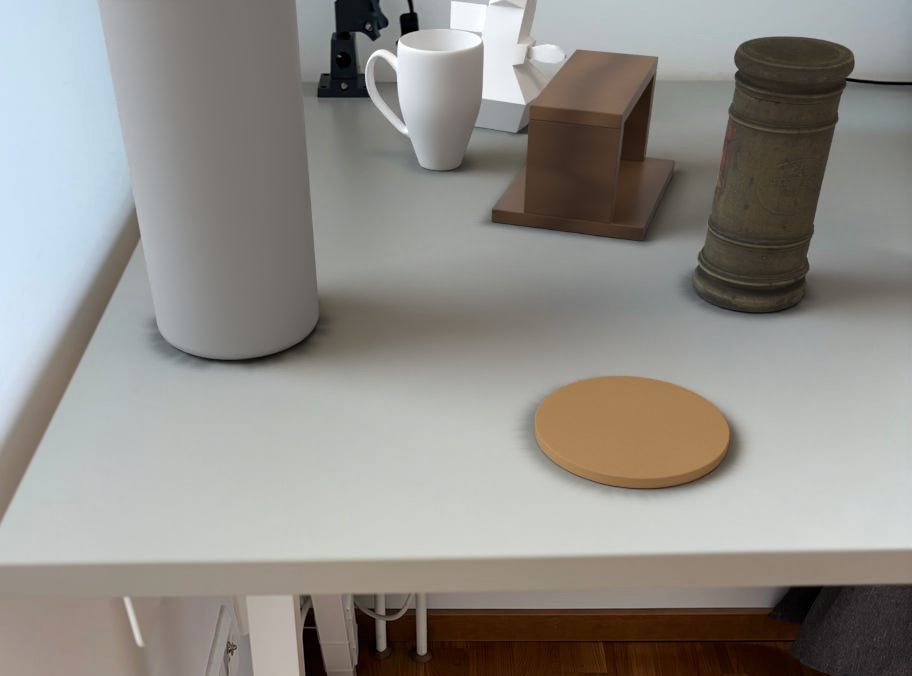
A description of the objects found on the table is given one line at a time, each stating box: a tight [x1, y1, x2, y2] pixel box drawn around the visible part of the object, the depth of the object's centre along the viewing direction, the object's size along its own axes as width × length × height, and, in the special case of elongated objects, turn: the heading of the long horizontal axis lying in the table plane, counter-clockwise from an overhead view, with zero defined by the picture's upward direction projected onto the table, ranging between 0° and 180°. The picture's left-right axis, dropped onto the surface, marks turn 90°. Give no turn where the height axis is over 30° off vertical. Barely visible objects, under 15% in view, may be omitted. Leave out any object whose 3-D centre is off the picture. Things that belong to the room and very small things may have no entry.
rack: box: [491, 48, 676, 242], centre depth 102 cm, size 14×18×10 cm
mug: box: [364, 28, 484, 172], centre depth 108 cm, size 12×8×11 cm
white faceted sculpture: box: [449, 0, 568, 134], centre depth 117 cm, size 8×14×14 cm, turn 64°
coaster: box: [533, 375, 731, 489], centre depth 73 cm, size 13×13×1 cm
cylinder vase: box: [97, 0, 320, 361], centre depth 77 cm, size 12×12×25 cm
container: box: [691, 35, 856, 313], centre depth 84 cm, size 9×9×18 cm
